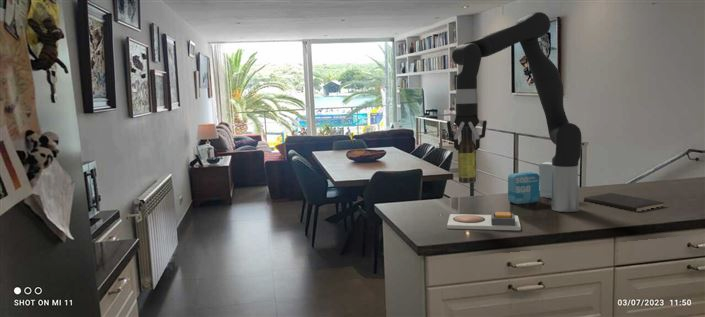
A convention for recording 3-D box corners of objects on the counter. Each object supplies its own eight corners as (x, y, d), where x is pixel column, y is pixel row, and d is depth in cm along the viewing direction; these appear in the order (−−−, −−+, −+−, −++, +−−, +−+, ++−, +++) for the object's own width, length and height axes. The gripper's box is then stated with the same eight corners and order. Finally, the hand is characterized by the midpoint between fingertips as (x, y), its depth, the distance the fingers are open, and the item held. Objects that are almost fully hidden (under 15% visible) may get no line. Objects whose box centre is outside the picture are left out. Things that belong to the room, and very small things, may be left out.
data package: (514, 204, 209) (514, 175, 208) (507, 202, 213) (507, 173, 212) (539, 201, 212) (539, 173, 211) (532, 199, 217) (532, 171, 215)
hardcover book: (610, 198, 217) (610, 192, 216) (664, 208, 196) (664, 202, 196) (583, 202, 210) (583, 197, 209) (636, 213, 189) (636, 207, 189)
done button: (510, 217, 178) (510, 212, 178) (510, 221, 174) (510, 215, 173) (495, 217, 180) (495, 211, 179) (495, 220, 175) (495, 215, 175)
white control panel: (517, 218, 186) (517, 209, 186) (520, 230, 171) (520, 219, 170) (450, 217, 192) (450, 207, 192) (447, 228, 177) (447, 218, 176)
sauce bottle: (479, 183, 181) (479, 126, 179) (462, 184, 180) (462, 127, 177) (471, 180, 187) (471, 125, 185) (455, 181, 186) (454, 126, 184)
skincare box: (564, 197, 219) (564, 162, 217) (555, 199, 215) (555, 164, 213) (547, 194, 226) (547, 161, 224) (538, 196, 222) (538, 162, 220)
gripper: (488, 101, 182) (488, 148, 184) (446, 102, 186) (447, 148, 188) (487, 102, 174) (487, 151, 176) (444, 103, 178) (445, 151, 180)
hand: (466, 149), depth 182 cm, fingers closed on sauce bottle, 6 cm apart
